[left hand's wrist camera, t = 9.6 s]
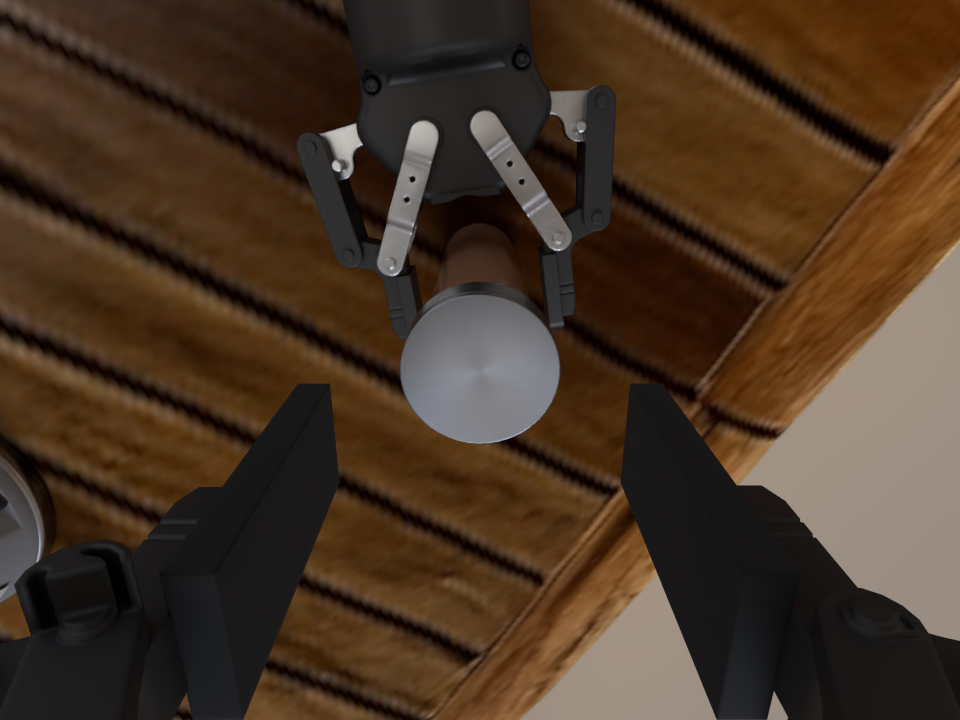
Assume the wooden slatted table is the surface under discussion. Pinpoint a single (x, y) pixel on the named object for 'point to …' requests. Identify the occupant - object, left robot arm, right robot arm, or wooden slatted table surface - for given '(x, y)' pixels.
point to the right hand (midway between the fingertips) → (487, 332)
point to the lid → (480, 363)
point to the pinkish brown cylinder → (479, 260)
